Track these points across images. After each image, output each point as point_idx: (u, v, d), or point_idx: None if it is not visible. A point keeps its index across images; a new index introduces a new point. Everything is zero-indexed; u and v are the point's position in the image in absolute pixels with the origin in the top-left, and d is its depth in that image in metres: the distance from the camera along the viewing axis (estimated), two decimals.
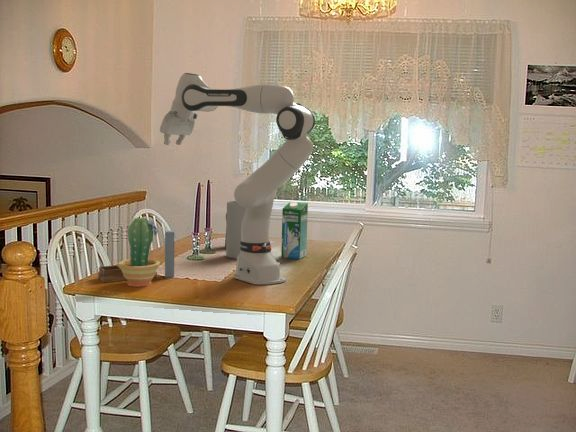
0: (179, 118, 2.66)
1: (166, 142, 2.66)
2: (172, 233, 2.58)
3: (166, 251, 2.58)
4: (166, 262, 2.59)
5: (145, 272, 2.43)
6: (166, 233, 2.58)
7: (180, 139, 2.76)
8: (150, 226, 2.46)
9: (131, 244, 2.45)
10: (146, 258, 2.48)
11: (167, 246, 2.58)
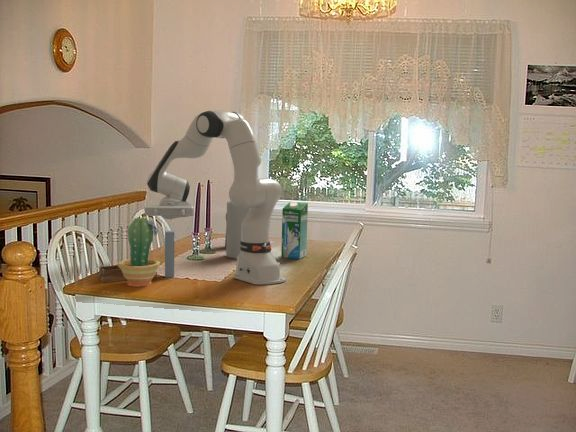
0: (161, 205, 2.81)
1: (155, 212, 2.70)
2: (172, 233, 2.58)
3: (166, 251, 2.58)
4: (166, 262, 2.59)
5: (145, 272, 2.43)
6: (166, 233, 2.58)
7: None
8: (150, 226, 2.46)
9: (131, 244, 2.45)
10: (146, 258, 2.48)
11: (167, 246, 2.58)
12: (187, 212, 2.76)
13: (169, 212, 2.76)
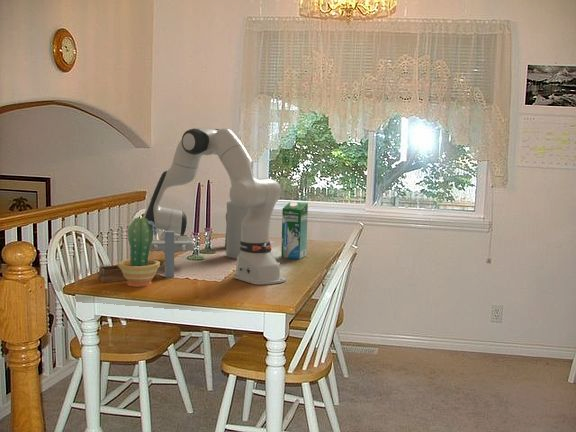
0: (161, 240, 2.79)
1: (156, 248, 2.69)
2: (172, 233, 2.58)
3: (166, 251, 2.58)
4: (166, 262, 2.59)
5: (145, 272, 2.43)
6: (166, 233, 2.58)
7: None
8: (150, 226, 2.46)
9: (131, 244, 2.45)
10: (146, 258, 2.48)
11: (167, 246, 2.58)
12: (188, 247, 2.74)
13: None
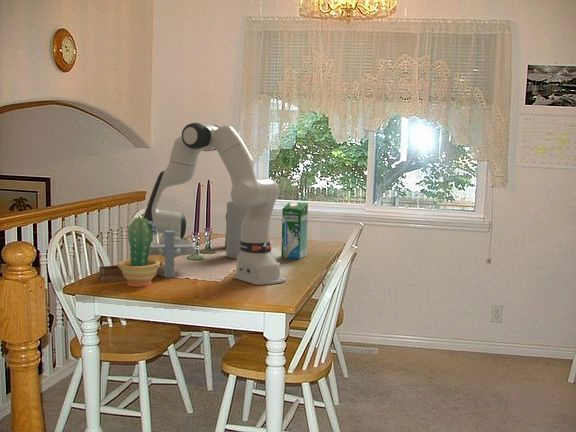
0: (161, 243, 2.70)
1: (161, 252, 2.60)
2: (172, 233, 2.58)
3: (166, 251, 2.58)
4: (166, 262, 2.59)
5: (145, 272, 2.43)
6: (166, 233, 2.58)
7: None
8: (150, 226, 2.46)
9: (131, 244, 2.45)
10: (146, 258, 2.48)
11: (167, 246, 2.58)
12: (188, 251, 2.66)
13: None
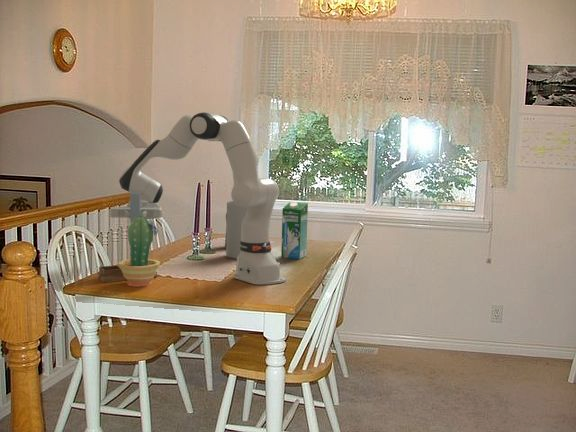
0: (128, 206, 2.69)
1: (126, 213, 2.59)
2: (137, 195, 2.57)
3: (131, 213, 2.57)
4: None
5: (145, 272, 2.43)
6: (131, 194, 2.56)
7: None
8: (150, 226, 2.46)
9: (131, 244, 2.45)
10: (146, 258, 2.48)
11: (133, 208, 2.57)
12: (154, 214, 2.64)
13: None
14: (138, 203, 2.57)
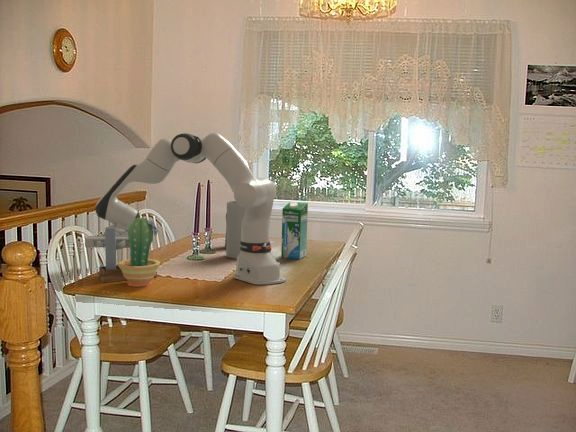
0: (104, 235, 2.62)
1: (99, 244, 2.52)
2: (113, 230, 2.50)
3: (107, 248, 2.51)
4: (107, 259, 2.51)
5: (145, 272, 2.43)
6: (106, 230, 2.50)
7: None
8: (150, 226, 2.46)
9: (131, 244, 2.45)
10: (146, 258, 2.48)
11: (108, 243, 2.51)
12: None
13: None
14: (113, 238, 2.51)
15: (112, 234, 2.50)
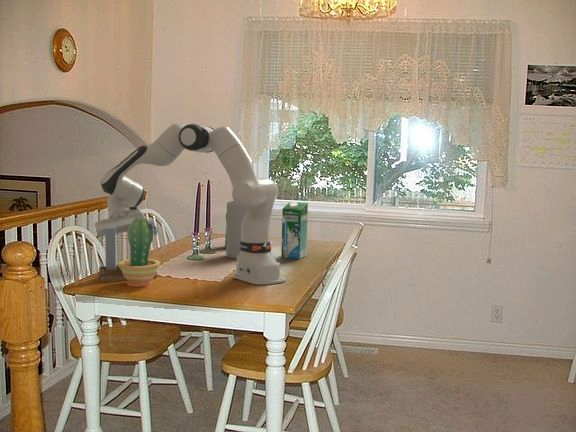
0: (111, 218, 2.73)
1: None
2: (113, 230, 2.50)
3: (107, 248, 2.51)
4: (107, 259, 2.51)
5: (145, 272, 2.43)
6: (106, 230, 2.50)
7: None
8: (150, 226, 2.46)
9: (131, 244, 2.45)
10: (146, 258, 2.48)
11: (108, 243, 2.51)
12: None
13: (122, 229, 2.70)
14: (113, 238, 2.51)
15: (112, 234, 2.50)
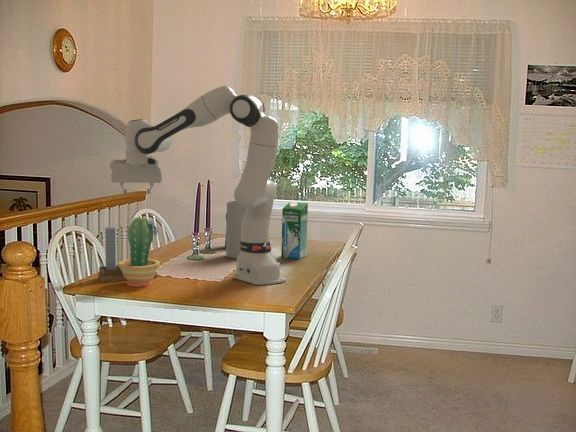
0: (128, 165, 2.67)
1: (123, 191, 2.69)
2: (113, 230, 2.50)
3: (107, 248, 2.51)
4: (107, 259, 2.51)
5: (145, 272, 2.43)
6: (106, 230, 2.50)
7: (149, 188, 2.71)
8: (150, 226, 2.46)
9: (131, 244, 2.45)
10: (146, 258, 2.48)
11: (108, 243, 2.51)
12: None
13: None
14: (113, 238, 2.51)
15: (112, 234, 2.50)
